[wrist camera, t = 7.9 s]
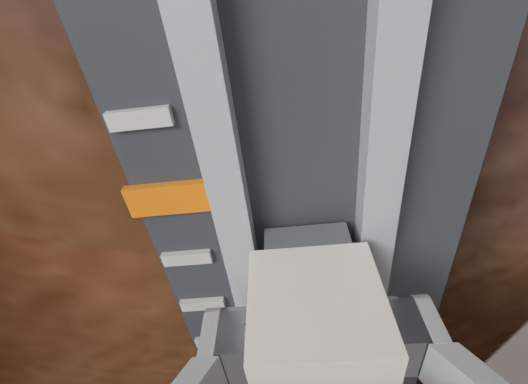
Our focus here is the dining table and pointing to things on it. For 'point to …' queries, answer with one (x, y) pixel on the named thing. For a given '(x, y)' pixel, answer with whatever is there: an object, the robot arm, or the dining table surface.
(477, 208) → the dining table surface
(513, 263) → the dining table surface
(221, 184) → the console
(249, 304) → the fader
